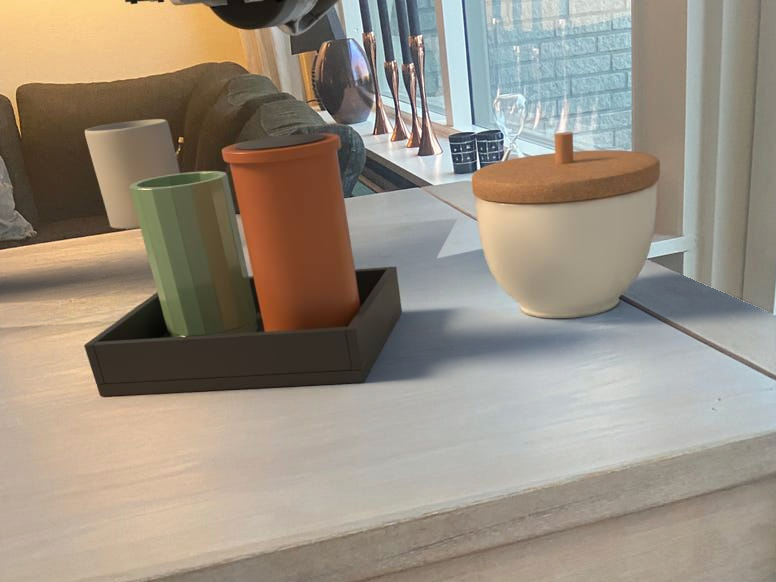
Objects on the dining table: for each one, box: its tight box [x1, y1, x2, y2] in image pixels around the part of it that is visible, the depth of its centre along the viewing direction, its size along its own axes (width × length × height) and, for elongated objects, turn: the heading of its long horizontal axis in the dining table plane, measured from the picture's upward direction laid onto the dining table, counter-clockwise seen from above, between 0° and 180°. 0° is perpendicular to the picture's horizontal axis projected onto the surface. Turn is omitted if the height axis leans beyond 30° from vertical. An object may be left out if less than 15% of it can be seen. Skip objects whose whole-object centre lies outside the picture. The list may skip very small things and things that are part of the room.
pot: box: [221, 133, 361, 332], centre depth 60 cm, size 7×7×12 cm
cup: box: [130, 170, 259, 337], centre depth 65 cm, size 6×6×10 cm
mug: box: [84, 118, 181, 229], centre depth 103 cm, size 12×8×11 cm
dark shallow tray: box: [83, 266, 403, 397], centre depth 65 cm, size 17×15×3 cm
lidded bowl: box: [471, 131, 661, 319], centre depth 66 cm, size 13×13×11 cm
